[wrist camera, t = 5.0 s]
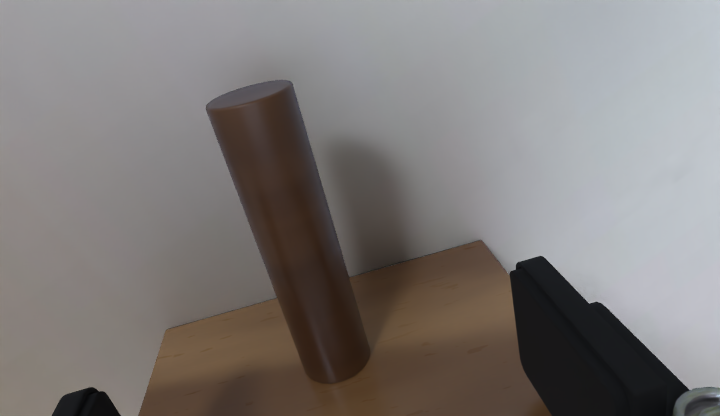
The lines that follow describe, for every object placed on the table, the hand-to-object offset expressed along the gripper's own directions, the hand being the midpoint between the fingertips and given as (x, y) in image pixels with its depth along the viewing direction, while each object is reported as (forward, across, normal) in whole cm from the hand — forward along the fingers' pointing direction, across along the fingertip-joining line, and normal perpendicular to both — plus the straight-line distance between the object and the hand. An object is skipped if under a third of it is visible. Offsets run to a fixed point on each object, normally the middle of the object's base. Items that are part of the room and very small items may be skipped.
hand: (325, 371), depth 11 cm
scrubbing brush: (+7, 0, 0) cm, 7 cm away
